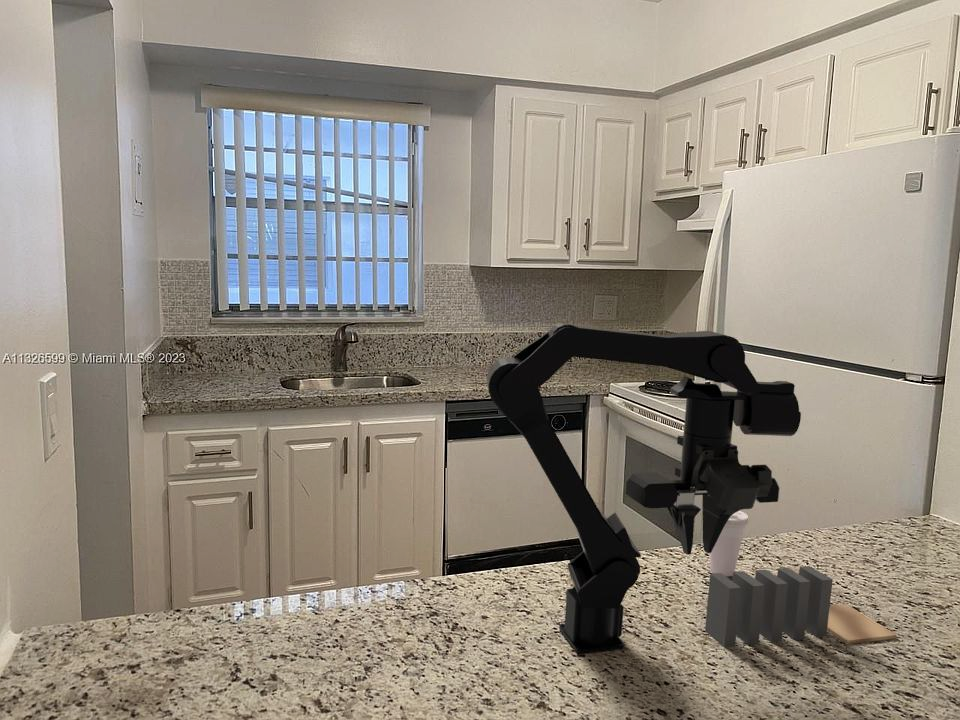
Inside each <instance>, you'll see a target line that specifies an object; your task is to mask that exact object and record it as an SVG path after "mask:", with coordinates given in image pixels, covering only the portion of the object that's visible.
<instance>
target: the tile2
mask: <svg viewBox="0 0 960 720" xmlns="http://www.w3.org/2000/svg"><path fill="white" fill-rule="evenodd" d="M731 581H733V582H734V583H735V584H737V585H738V586H739V587H741V591H740V601H739V612H738V622H737V633H736V637H737V638H739V640H741V641H742V642H744V643H745V644H746V645H747V646H753V645H759V643H760V636H761V634H760V625H761V615H762V605H763V595H764V585H763V584H762V583H760V582H759V581H757V580H756V579H755V577H753V576H751V575H750V574H749V573H748V572H746V571H744V570H741V571H735V572H733V576H732V579H731Z"/></svg>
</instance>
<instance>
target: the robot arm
mask: <svg viewBox="0 0 960 720" xmlns="http://www.w3.org/2000/svg"><path fill="white" fill-rule="evenodd" d="M572 358H584V359H591V360H600V361H601V360H602V361H611V362H612V361H613V362H619V363H630V364H637V365H639V364H640V365H647V366H657V367H664V368H668V369H672V370H675V371H678V372H681V373H685V374H687V375H689V376H694V377H697V378H700V379H703V380H704V379H705V380H707V381H710V382H713V383H704V382H703V383H702V382H701V383H699V382H694V380H693V378H691V377H688V376H686V375H683V377H682V378H681V380H680V381H679V382H678V383H676V384H674V385H673V386H672V387H670V389H669V392H670V393H671V394H673V395H674V396H676V397H677V398H680V399H681V398H682V399H686V400H685V401H686V403H685V413H684V426H683V435H677V442H676V444H677V445H679V446H681V447H682V448H681V449H682V450H681V461H680V466H678V467H677V466H676V467H674V476H676V477H678V478H679V479H677V480H670V479H668V478H666V477H665V476H664V475H661V474H659V473H658V472H643V473H642V472H640V473H639V472H637V473H635V472H633V473H631V475H630V476H629V477H628V478H627V480H626V483H625V495H626V496H627V497H630V499H632V500H634V501H635V502H637V503H639V505H641V506H643V507H644V508H648V509H667V511H668V513H669V516H670V517H671V520H672V522H673V525H674V528H675V531H676V534H677V537H678V539H679V542H680V545H681V548H682V551H683V553H685V554H686V555H687V556H690V555H692V550H693V543H694V531H695V518H696V516H697V515H698V514H699V512H701V510H702V547H703V550H704V552H705V553H706V554H710V553H711V552H712V550H713V548H714V546H715V544H716V542H717V540H718V538H719V536H720V534H721V532H722V530H723V528H724V526H725V524H726V523H727V521H728V520H729V518H730V516H731V515H733V514H734V513H736V512H738V511H742V510H751V509H753V508H754V505H755V502H758V503H759V504H763V503H778V502H779V498H780V497H779V496H780V485H779V484H778V481H777V480H776V478H774V477H773V473H772V472H773V470H772V469H771V468H770V467H769V466H768V465H767V464H752V465H751V466H750V465H749V464H741V463H740V461H739V450H738V445H736V444H733V443H732V439H733V438H732V435H733V426H734V425H735V426H736V427H739V429H740V431H741V433H742V434H743V435H747V436H749V435H750V436H775V437H776V436H777V437H778V436H780V437H792V436H794V435H795V434H797V432H798V429H799V428H800V427H799V426H800V425H801V419H802V412H801V411H800V405H799V402H798V397H797V395H796V394H795V387H796V385H795V384H794V383H792V382H790V381H787V380H776V381H757V379H756V378H755V376H754V375H753V373H752V372H751V370H750V368H749V367H748V365H747V364H746V352H745V349H744V346H743V345H742V344H741V343H740V341H739V340H738V339H737V338H735V337H734V336H729V335H726V334H722V333H720V332H715V331H712V330H699V331H697V330H696V331H687V332H686V331H684V332H676V333H671V334H669V333H668V334H655V333H648V332H647V333H646V332H639V331H638V332H637V331H627V330H620V329H619V330H617V329H611V328H610V329H609V328H601V327H591V326H583V325H574V324H572V323H569V322H558V323H556V324H553V326H552V327H551V328H550V329H549V330H548V331H547V332H545V334H543V335H542V336H540V337H538V338H537V339H535V340H534V341H533V342H531V343H529V344H527V346H525V347H523V348H522V349H521V350H520V351H519V352H517V353H516V354H515V355H514V356H506V357H502V358H499V359H497V360H496V361H495V362H493V363H492V364H491V366H490V367H489V369H488V371H487V373H486V385H487V389H488V394H489V397H490V399H491V400H492V402H493V403H494V404H495V406H496V407H497V408H498V409H499V411H500V412H501V413H502V414H503V415H504V416H505V418H506V419H507V420H508V421H509V422H510V423H511V424H512V425H513V427H515V429H516V430H517V431H518V432H519V433H520V434H521V435H522V436H523V438H524V439H525V440H526V442H527V444H528V445H529V447H530V449H531V452H532V453H533V454H534V456H535V458H536V459H537V462H538V463H539V465H540V466H541V469H542V470H543V472H544V473H545V476H546V477H547V480H549V483H550V484H551V486H552V487H553V489H554V492H555V493H556V495H557V496H558V497H557V498H559V501H560V502H561V504H562V505H563V507H564V509H565V510H566V512H567V514H568V516H569V518H570V519H571V521H572V522H573V525H574V527H575V530H576V533H577V537H578V539H579V542H580V546H581V548H582V551H581V552H580V553H579V554H578V555H576V556H575V557H574V558H573V559H572V560H571V561H569V562H568V563H567V569H568V570H567V571H569V572H568V573H569V575H570V578H571V580H572V582H573V587H572V588H567V589H566V598H565V599H566V600H565V612H564V613H565V614H564V623H561V624H559V625H558V626H559V627H558V628H559V631H560V632H561V633H562V636H564V638H565V639H566V640H567V641H568V643H569V644H570V645H571V647H572V648H573V649H574V651H575V652H576V653H581V654H582V653H583V654H584V653H591V652H600V651H611V650H618V649H623V648H624V647H625V642H623V640H622V638H620V637H622V636H623V625H624V623H623V622H624V609H625V606H624V605H623V604H622V602H623V600H624V598H625V597H626V594H627V593H628V590H629V589H630V588H632V587H633V586H635V584H636V582H637V581H638V578H639V576H640V574H641V566H640V564H639V560H638V559H637V558H642V554H641V552H640V551H639V549H638V548H637V547H636V545H635V543H634V542H633V540H632V538H631V537H630V536H629V534H628V531H627V528H626V527H625V525H624V524H623V522H622V521H621V519H620V518H619V516H618V514H617V513H616V512H613V513H612V514H610V516H608V517H606V515H605V514H604V513H603V512H602V511H601V510H600V509H599V507H598V506H597V504H596V502H595V501H594V499H593V498H592V496H591V494H590V491H589V490H588V488H587V486H586V485H585V483H584V481H583V479H582V478H581V476H580V474H579V472H578V470H577V469H576V467H575V465H574V464H573V462H572V460H571V458H570V456H569V455H568V453H567V451H566V449H565V448H564V446H563V444H562V442H561V440H560V439H559V437H558V434H556V432H555V430H554V428H553V427H552V425H551V422H550V419H549V416H548V413H547V410H546V409H547V408H546V406H545V403H544V400H543V396H542V394H541V392H540V387H542V386H543V385H544V384H545V383H547V382H548V381H549V380H550V379H551V378H553V375H555V374H556V373H557V372H558V371H559V370H560V369H561V368H562V367H563V366H564V365H565V364H566V363H567V362H568V361H571V359H572ZM716 383H720V384H724V385H726V386H729V387H731V388H732V389H734V390H736V391H726V390H725V391H724V390H723V391H722V390H721V388H720V387H719V385H718V384H716ZM733 423H734V425H733ZM696 496H702V509H701V507H699V506H697V505H695V497H696Z"/></svg>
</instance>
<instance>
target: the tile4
mask: <svg viewBox="0 0 960 720" xmlns="http://www.w3.org/2000/svg"><path fill="white" fill-rule="evenodd" d="M776 576H777V577H779V578H780V579H782V580H783V581H785V582H786V583H788V585H787V595H786V605H785V614H784V624H783V633H784V634H785V635H786V636H787V637H789V638H791V639H792V640H793V641H797V640H805V634H806V630H805V627H806V618H807V608H808V599H809V590H810V581H809V580H807V579H806V578H804V577H802V576H801V575H799V572H796V571H794V570H793V569H791V568H789V567H780V568H777V575H776Z"/></svg>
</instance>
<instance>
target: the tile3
mask: <svg viewBox="0 0 960 720" xmlns="http://www.w3.org/2000/svg"><path fill="white" fill-rule="evenodd" d="M754 574H755V575H754V579H756V580H757V581H759V582H760V583H762V584H763V585H764V595H763V605H762V615H761V625H760V636H762V637H764V638H765V639H766V640H767V641H769V643H772V644H773V643H780V642H782V641H783V633H784V632H783V624H784V614H785V605H786V595H787V585H788V583H786V582H785V581H783V580H782V579H780V578H779V577H777V575H776V574H774V573H772V571H769V570H768V569H766V568H765V569H756V570H755V573H754Z"/></svg>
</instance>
